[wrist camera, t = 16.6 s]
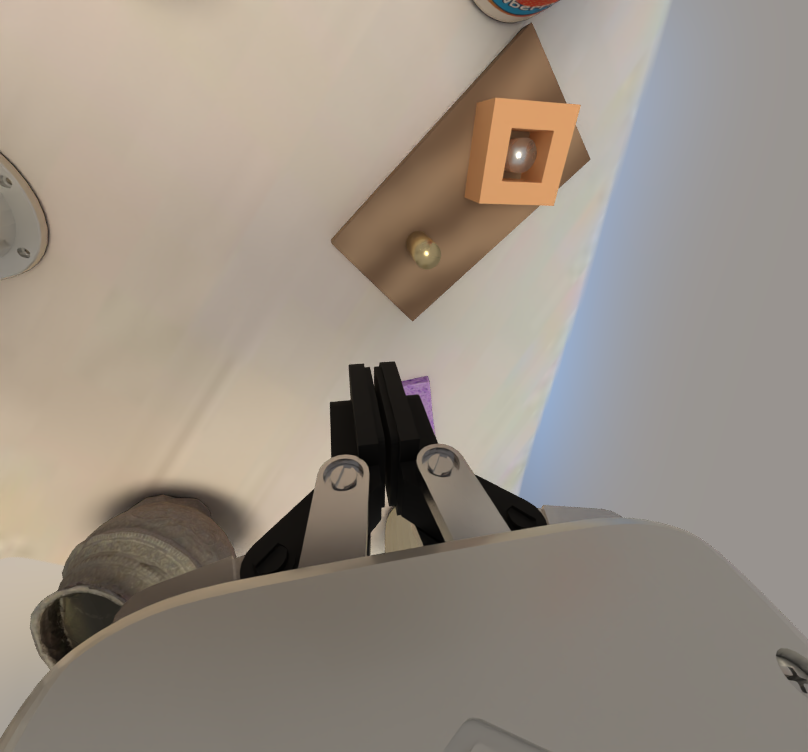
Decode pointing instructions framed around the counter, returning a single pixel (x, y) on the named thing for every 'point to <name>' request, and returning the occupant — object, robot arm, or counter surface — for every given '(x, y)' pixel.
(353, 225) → the walnut board
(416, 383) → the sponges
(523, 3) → the fruit juice
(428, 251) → the short gold cylinder
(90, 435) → the counter surface
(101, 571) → the pot
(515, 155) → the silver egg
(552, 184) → the collar
